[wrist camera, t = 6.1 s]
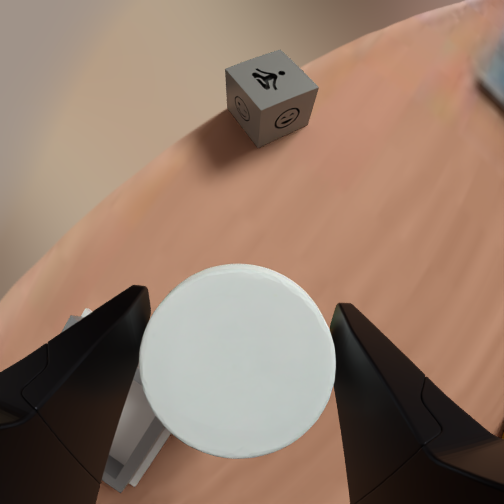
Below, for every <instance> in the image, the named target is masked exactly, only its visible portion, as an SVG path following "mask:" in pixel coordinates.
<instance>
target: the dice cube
mask: <svg viewBox="0 0 504 504" xmlns="http://www.w3.org/2000/svg"><path fill="white" fill-rule="evenodd" d="M225 74H226V93H227V108H228V110H229V111H230V112H231V113H232V115H233V116H234V117H235V119H236V120H237V121H238V123H239V124H240V125H241V126H242V128H243V129H244V130H245V132H246V133H247V134H248V136H249V137H250V138H251V140H252V141H253V142H254V144H255V145H256V146H257V148H260V147H262V146H264V145H266V144H268V143H270V142H272V141H274V140H276V139H278V138H280V137H283V136H285V135H287V134H289V133H291V132H293V131H295V130H298V129H300V128H302V127H304V126H307V125H308V122H309V119H310V115H311V112H312V109H313V105H314V102H315V99H316V95H317V92H318V88H319V87H318V86H317V85H316V84H315V83H314V82H313V81H312V80H311V79H310V78H309V77H308V76H307V75H306V74H305V73H304V72H303V71H302V70H301V69H300V68H299V67H298V66H297V65H296V64H295V63H294V62H293V61H292V60H291V59H290V58H289V57H288V56H287V55H285V53H284V52H282V51H281V50H278V51H274V52H271V53H268V54H265V55H262V56H259V57H256V58H253V59H250V60H248V61H245V62H242V63H240V64H237V65H234V66H231V67H229V68H226V69H225Z"/></svg>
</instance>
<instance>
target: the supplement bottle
mask: <svg viewBox="0 0 504 504" xmlns="http://www.w3.org/2000/svg"><path fill="white" fill-rule="evenodd" d="M139 370H140V380H141V384H142V388H143V391H144V394H145V397H146V399H147V401H148V403H149V405H150V407H151V409H152V411H153V412H154V414H155V416H156V417H157V418H158V420H159V421H160V422H161V423H162V424H163V425H164V427H165V428H166V429H167V430H168V431H169V432H170V433H172V434H173V435H174V436H175V437H176V438H178V439H179V440H180V441H182V442H183V443H185V444H187V445H188V446H190V447H192V448H194V449H196V450H199V451H201V452H204V453H207V454H210V455H213V456H217V457H223V458H233V459H240V458H253V457H259V456H263V455H266V454H270V453H273V452H275V451H278V450H280V449H282V448H284V447H286V446H288V445H290V444H291V443H293V442H294V441H296V440H297V439H298V438H300V437H301V436H302V435H303V434H304V433H305V432H307V431H308V430H309V429H310V428H311V427H312V426H313V424H314V423H315V422H316V421H317V419H318V418H319V416H320V415H321V413H322V412H323V410H324V409H325V407H326V405H327V402H328V400H329V398H330V395H331V391H332V388H333V385H334V382H335V370H336V358H335V348H334V343H333V339H332V336H331V333H330V330H329V328H328V326H327V324H326V322H325V320H324V318H323V316H322V314H321V312H320V310H319V309H318V307H317V305H316V304H315V302H314V301H313V300H312V299H311V298H310V296H309V295H308V294H307V293H306V292H305V291H304V290H303V289H302V288H301V287H300V286H298V285H297V284H296V283H295V282H293V281H292V280H290V279H289V278H287V277H286V276H284V275H282V274H280V273H278V272H275V271H273V270H270V269H268V268H264V267H261V266H256V265H249V264H226V265H221V266H216V267H211V268H208V269H205V270H203V271H200V272H198V273H196V274H194V275H192V276H190V277H189V278H187V279H185V280H184V281H183V282H181V283H180V284H179V285H177V286H176V287H175V288H174V289H173V290H172V291H171V292H170V293H169V294H168V295H167V296H166V297H165V299H164V300H163V301H162V302H161V303H160V305H159V306H158V307H157V309H156V310H155V311H154V313H153V315H152V316H151V318H150V320H149V322H148V324H147V327H146V329H145V331H144V334H143V337H142V341H141V345H140V352H139Z"/></svg>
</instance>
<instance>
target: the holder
mask: <svg viewBox="0 0 504 504" xmlns="http://www.w3.org/2000/svg"><path fill="white" fill-rule="evenodd" d="M91 312H93V311H91V310H90V309H88V308H85V310H84V312H83V314H82V315H81V317H79V316H72V315H71V316H70V318H69V320H68V321H67V323H66V325H65V327H64V329H63V331H65V330H66V329H68V328H69V327H70V326H72V325H73V324H75V323H76V322H78V321H79V320H81V319H82V318H84V317H85V316H87V315H88V314H90V313H91ZM63 331H62V332H63ZM62 332H61V333H62ZM170 434H171V433H170V432H169V431H168V430H167V429H166V428H165V427H164V425H163V424H162V423H161V422H160V421H159V420H158V418H157V417H156V416H155V414H154V412H153V411H152V409H151V407H150V405H149V403H148V401H147V399H146V397H145V394H144V391H143V388H142V384H141V380H140V370H139V364H138V367H137V370H136V373H135V376H134V378H133V381H132V384H131V387H130V390H129V393H128V396H127V399H126V402H125V405H124V408H123V411H122V414H121V417H120V420H119V423H118V427H117V430H116V433H115V436H114V439H113V443H112V446H111V449H110V453H109V456H108V459H107V463H106V466H105V470H104V473H103V477H102V480H103V481H104V482H105V483H107V484H108V485H110V486H111V487H113V488H114V489H115V490H117V491H118V492H120V493H121V492H122V491H123V490H124V489H125V487H126V486H127V485H128V484H131V485H132V486H134V487H135V486H136V485H137V484H138V482H139V481H140V479H141V478H142V476H143V475H144V473H145V472H146V470H147V469H148V467H149V466H150V464H151V463H152V461H153V460H154V458H155V457H156V455H157V454H158V452H159V451H160V449H161V448H162V446H163V445H164V443H165V442H166V440H167V439H168V437H169V436H170Z"/></svg>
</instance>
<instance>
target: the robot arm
mask: <svg viewBox="0 0 504 504" xmlns="http://www.w3.org/2000/svg"><path fill="white" fill-rule="evenodd" d="M150 314H151V307H150V300H149V293H148V289H147V287H146V286H140V285H132V286H131V287H129V288H128V289H126V290H125V291H123V292H121V293H120V294H118V295H117V296H115V297H114V298H112V299H111V300H109V301H108V302H106V303H105V304H103V305H102V306H100V307H99V308H97V309H96V310H94V311H93V312H91V313H90V314H88V315H87V316H85V317H84V318H82V319H81V320H79V321H78V322H76V323H75V324H73V325H72V326H70V327H69V328H68V329H66V330H65V331H63V332H62V333H60V334H59V335H57V336H56V337H54V338H53V339H51V340H50V341H49V342H48V344H47V343H46V344H44V345H43V346H41V347H40V348H38V349H37V350H35V351H34V352H32V353H31V354H29V355H28V356H26V357H25V358H23V359H22V360H20V361H18V362H17V363H15V364H14V365H12V366H10V367H9V368H7V369H5V370H3V371H2V372H0V504H95V503H96V500H97V496H98V492H99V488H100V484H101V480H102V477H103V473H104V470H105V466H106V463H107V459H108V456H109V453H110V449H111V446H112V443H113V439H114V436H115V433H116V430H117V427H118V423H119V420H120V417H121V414H122V411H123V408H124V405H125V402H126V399H127V396H128V393H129V390H130V387H131V384H132V381H133V378H134V376H135V373H136V370H137V367H138V364H139V352H140V345H141V341H142V337H143V334H144V331H145V329H146V327H147V324H148V322H149V319H150ZM330 333H331V336H332V339H333V343H334V348H335V358H336V370H335V382H334V391H335V397H336V403H337V409H338V415H339V422H340V429H341V435H342V442H343V449H344V457H345V464H346V472H347V480H348V489H349V497H350V504H504V439H501V438H499V437H497V436H495V435H493V434H491V433H490V432H489V431H487V430H486V429H485V428H484V427H483V426H481V425H480V424H479V423H478V422H477V421H476V420H474V419H473V418H472V417H471V416H470V415H468V414H467V413H466V412H465V411H464V410H462V409H461V408H460V407H459V406H458V405H457V404H455V403H454V402H453V401H452V400H451V399H450V398H449V397H447V396H446V395H445V394H444V393H443V392H442V391H441V390H440V389H439V388H438V387H437V386H436V385H435V384H434V383H433V382H432V381H431V380H430V379H429V378H428V377H425V374H424V373H423V372H422V371H421V370H420V369H419V368H418V367H417V366H416V365H415V364H414V363H413V362H412V361H411V360H410V359H409V358H408V357H407V356H406V355H405V354H404V353H402V352H401V351H400V350H399V349H398V348H397V347H396V346H395V345H394V344H393V343H392V342H391V341H390V340H389V339H388V338H387V337H386V336H385V335H384V334H383V333H382V332H381V331H380V330H379V329H378V328H377V327H376V326H375V325H374V324H373V323H372V322H370V321H369V320H368V319H367V318H366V317H365V316H364V315H363V314H362V313H361V312H360V311H359V310H358V309H357V308H356V307H355V306H354V305H353V304H351V303H338V304H337V305H336V308H335V311H334V314H333V318H332V321H331V324H330Z"/></svg>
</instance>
